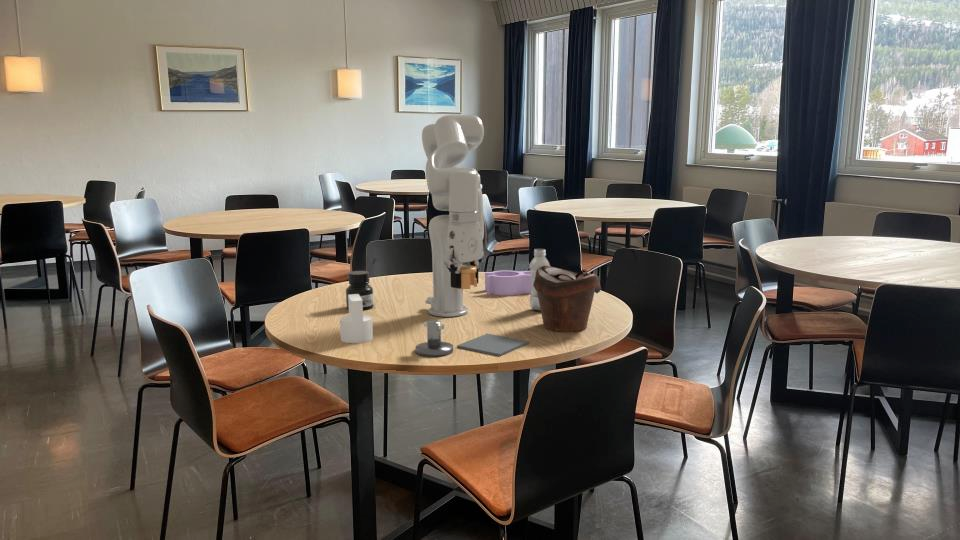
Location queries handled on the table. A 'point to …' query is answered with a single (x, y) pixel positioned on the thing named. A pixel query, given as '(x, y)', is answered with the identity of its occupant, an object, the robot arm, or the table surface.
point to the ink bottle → (360, 288)
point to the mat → (493, 344)
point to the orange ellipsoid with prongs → (468, 276)
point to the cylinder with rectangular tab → (356, 322)
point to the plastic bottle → (534, 265)
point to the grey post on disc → (434, 341)
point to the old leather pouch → (565, 297)
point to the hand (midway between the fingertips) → (464, 284)
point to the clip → (508, 282)
